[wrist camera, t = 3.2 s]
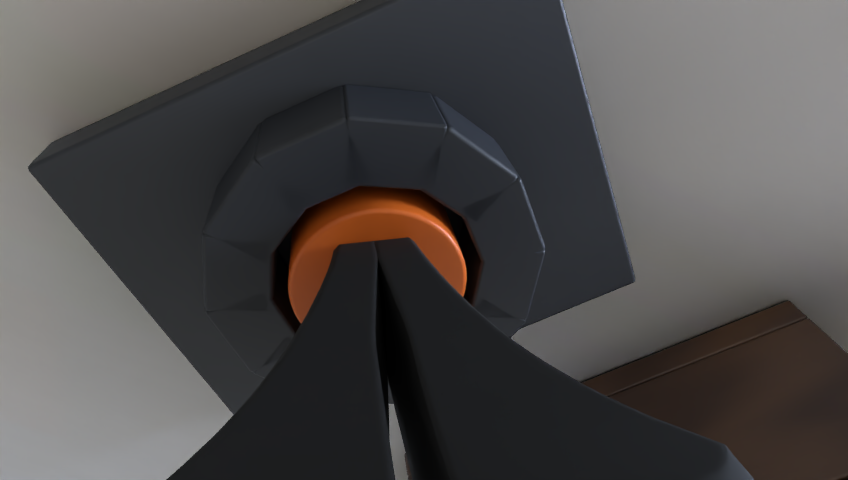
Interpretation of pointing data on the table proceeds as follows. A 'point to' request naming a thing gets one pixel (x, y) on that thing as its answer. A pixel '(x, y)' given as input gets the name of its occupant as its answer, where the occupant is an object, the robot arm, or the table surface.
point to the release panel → (350, 171)
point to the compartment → (750, 393)
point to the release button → (369, 236)
